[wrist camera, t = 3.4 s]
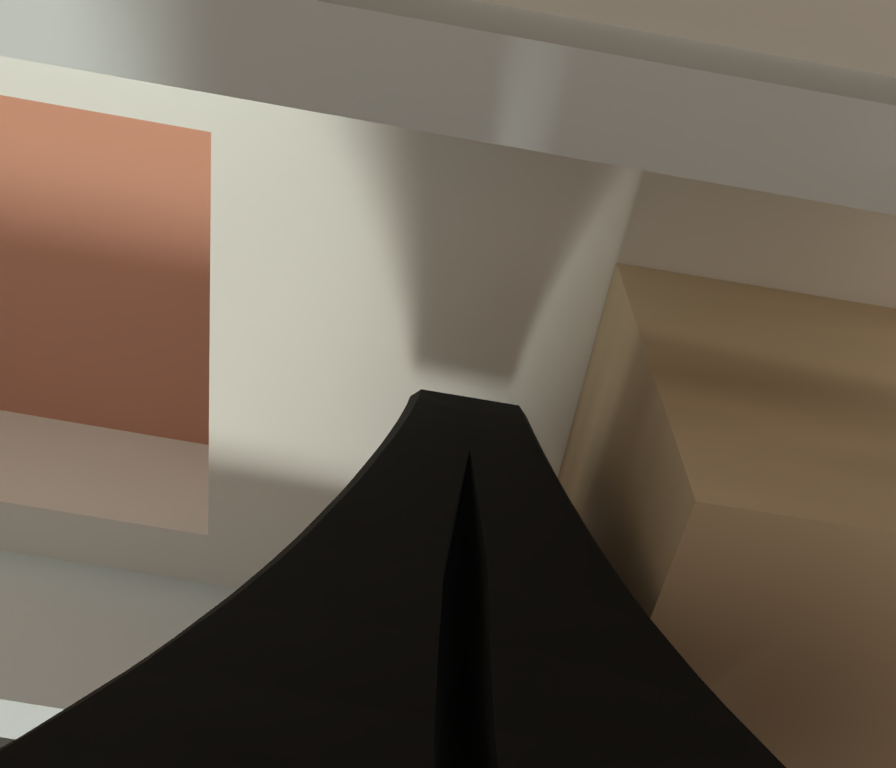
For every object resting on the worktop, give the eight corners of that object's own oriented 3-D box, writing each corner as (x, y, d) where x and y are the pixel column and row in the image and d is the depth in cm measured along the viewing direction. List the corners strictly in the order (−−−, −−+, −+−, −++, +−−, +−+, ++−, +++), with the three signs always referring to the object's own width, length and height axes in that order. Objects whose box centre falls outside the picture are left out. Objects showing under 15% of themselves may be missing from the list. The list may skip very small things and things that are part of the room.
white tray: (1002, 671, 16) (1188, 953, 11) (-114, 487, 15) (-362, 711, 11) (1435, 97, 10) (2120, 222, 6) (-294, -224, 10) (-940, -342, 5)
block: (838, 595, 12) (1005, 928, 8) (538, 548, 12) (555, 862, 8) (987, 323, 9) (1324, 600, 6) (615, 263, 9) (695, 501, 5)
